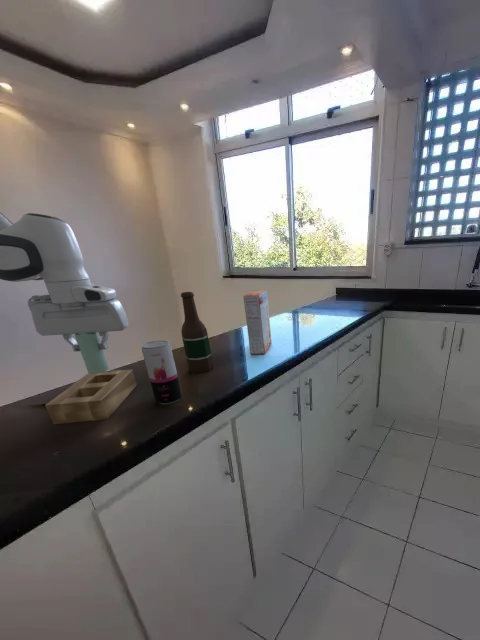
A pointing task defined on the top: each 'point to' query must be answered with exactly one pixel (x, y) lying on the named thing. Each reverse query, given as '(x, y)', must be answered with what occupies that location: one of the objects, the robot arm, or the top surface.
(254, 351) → the cracker box
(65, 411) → the bottle stand
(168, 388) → the beverage can
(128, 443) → the top surface
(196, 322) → the beer bottle
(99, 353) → the bottle
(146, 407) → the top surface
